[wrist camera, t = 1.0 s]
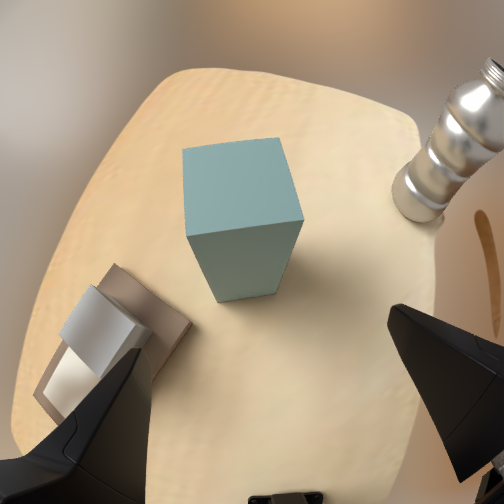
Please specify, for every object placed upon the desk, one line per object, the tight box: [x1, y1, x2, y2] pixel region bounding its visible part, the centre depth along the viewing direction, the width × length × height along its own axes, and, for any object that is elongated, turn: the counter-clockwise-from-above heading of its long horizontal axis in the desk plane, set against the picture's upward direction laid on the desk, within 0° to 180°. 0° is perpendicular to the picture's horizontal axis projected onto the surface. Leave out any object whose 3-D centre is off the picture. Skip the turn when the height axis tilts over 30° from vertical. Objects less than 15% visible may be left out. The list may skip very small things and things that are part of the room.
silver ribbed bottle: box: [392, 57, 504, 223], centre depth 18 cm, size 6×7×20 cm
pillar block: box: [183, 138, 304, 303], centre depth 18 cm, size 5×5×13 cm
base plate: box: [33, 263, 192, 426], centre depth 18 cm, size 9×17×5 cm, turn 147°
